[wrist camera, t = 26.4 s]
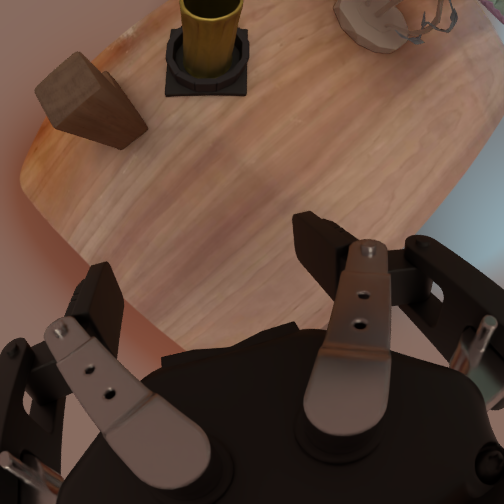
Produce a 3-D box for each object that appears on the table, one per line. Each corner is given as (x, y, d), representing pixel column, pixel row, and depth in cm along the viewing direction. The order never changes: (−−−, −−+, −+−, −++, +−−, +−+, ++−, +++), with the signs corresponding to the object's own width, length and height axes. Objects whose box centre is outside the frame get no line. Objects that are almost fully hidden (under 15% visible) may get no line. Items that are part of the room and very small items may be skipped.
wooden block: (88, 101, 30) (15, 56, 12) (115, 80, 30) (58, 17, 12) (121, 151, 32) (53, 130, 15) (149, 129, 32) (102, 86, 15)
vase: (194, 35, 29) (192, -30, 15) (239, 48, 30) (259, -14, 17) (175, 73, 30) (161, 16, 16) (221, 86, 31) (233, 33, 18)
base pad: (165, 96, 31) (161, 87, 28) (171, 32, 29) (168, 18, 25) (245, 96, 33) (250, 86, 29) (246, 32, 31) (251, 18, 27)
